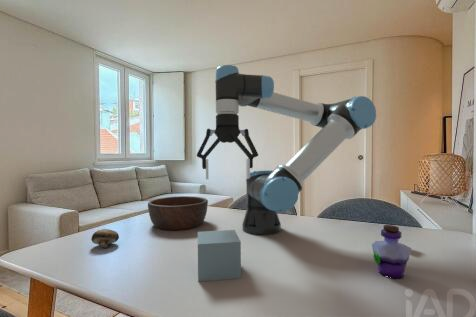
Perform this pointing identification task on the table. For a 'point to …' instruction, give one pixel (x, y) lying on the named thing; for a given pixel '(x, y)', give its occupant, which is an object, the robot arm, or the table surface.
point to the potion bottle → (391, 253)
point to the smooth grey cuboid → (219, 255)
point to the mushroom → (104, 237)
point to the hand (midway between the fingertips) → (227, 178)
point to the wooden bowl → (177, 212)
